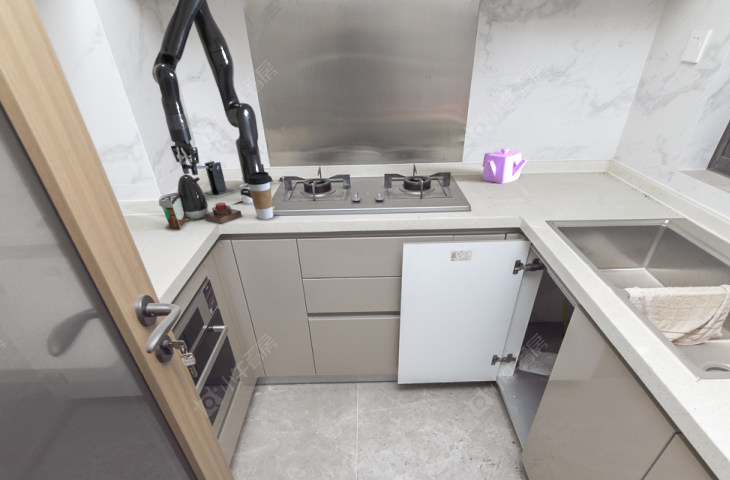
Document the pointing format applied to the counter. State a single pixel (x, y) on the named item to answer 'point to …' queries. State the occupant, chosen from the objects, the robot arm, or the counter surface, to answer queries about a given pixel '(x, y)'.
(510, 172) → the teakettle
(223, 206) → the button
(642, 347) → the counter surface
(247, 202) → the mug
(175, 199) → the food container
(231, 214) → the button block
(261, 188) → the coffee cup
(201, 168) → the tap lever
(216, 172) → the tap bracket
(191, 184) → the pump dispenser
